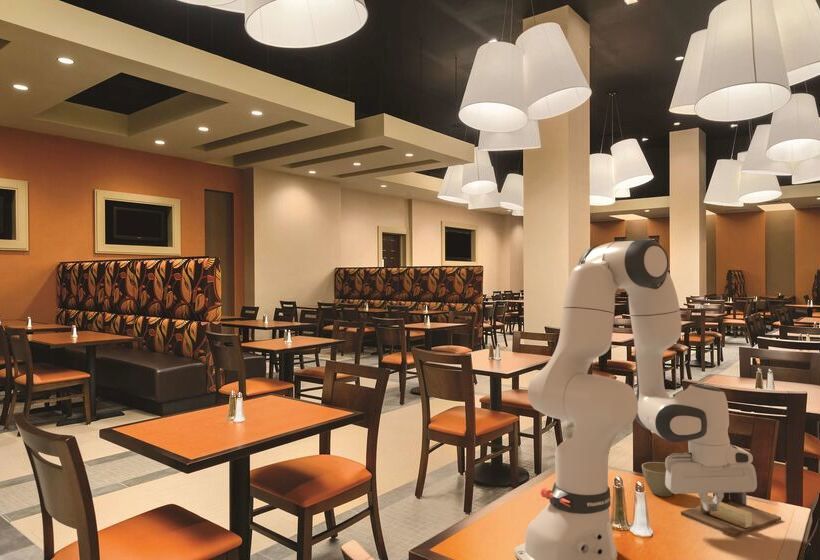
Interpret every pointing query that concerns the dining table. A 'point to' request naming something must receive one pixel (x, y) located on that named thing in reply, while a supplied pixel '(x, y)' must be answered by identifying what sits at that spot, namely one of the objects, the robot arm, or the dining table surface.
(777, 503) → the dining table surface
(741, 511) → the bar
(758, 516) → the brown wooden board
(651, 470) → the flower pot
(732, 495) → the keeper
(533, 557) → the robot arm
